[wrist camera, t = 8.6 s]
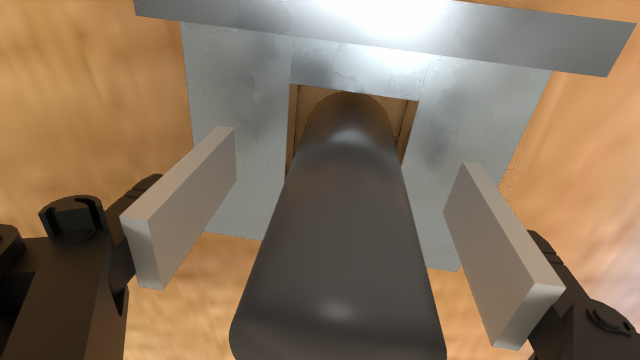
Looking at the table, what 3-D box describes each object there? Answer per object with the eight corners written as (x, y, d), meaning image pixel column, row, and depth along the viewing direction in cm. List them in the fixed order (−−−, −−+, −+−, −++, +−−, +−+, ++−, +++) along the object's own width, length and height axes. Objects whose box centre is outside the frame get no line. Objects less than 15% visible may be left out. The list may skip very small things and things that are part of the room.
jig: (218, 208, 22) (180, 266, 17) (200, -30, 15) (125, -41, 10) (447, 244, 21) (471, 314, 17) (545, 13, 14) (637, 23, 9)
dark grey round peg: (303, 163, 19) (232, 392, 8) (310, 85, 17) (222, 264, 6) (380, 174, 19) (413, 422, 8) (399, 97, 17) (482, 303, 6)
